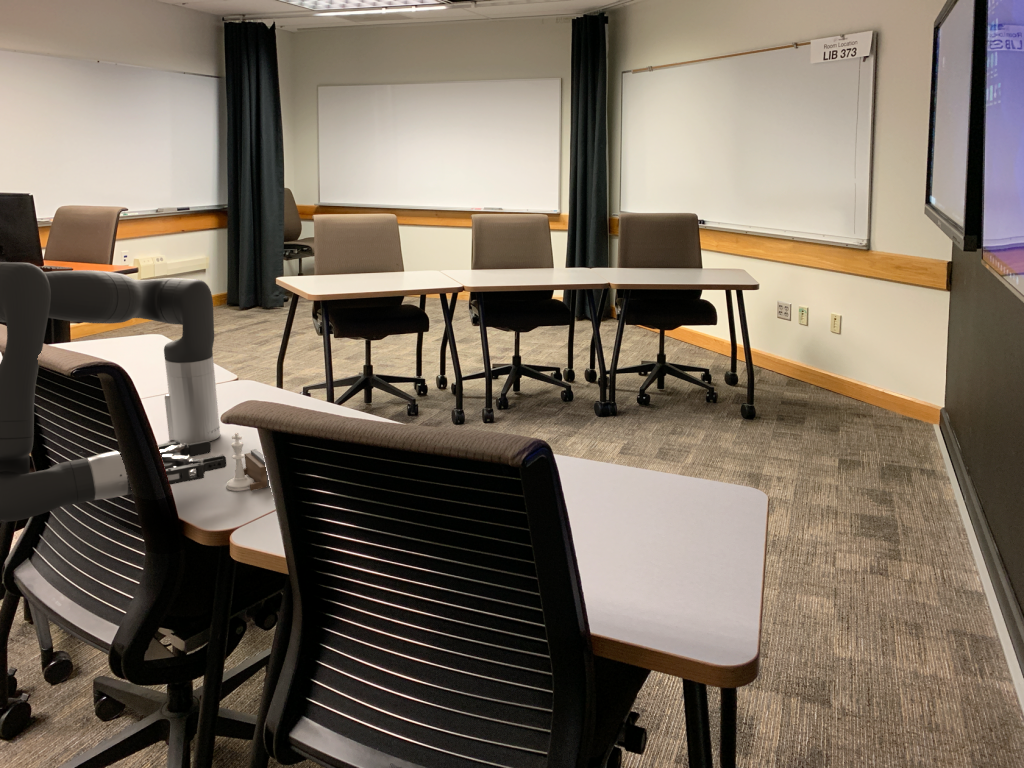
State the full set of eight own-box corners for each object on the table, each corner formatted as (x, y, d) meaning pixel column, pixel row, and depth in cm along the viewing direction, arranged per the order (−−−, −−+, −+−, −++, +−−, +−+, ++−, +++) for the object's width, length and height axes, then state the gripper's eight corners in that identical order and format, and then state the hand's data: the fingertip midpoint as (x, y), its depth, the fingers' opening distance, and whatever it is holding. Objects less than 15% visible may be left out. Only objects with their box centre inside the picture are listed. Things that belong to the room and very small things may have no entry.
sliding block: (251, 490, 156) (249, 469, 155) (235, 476, 162) (233, 456, 161) (267, 487, 157) (265, 466, 156) (251, 472, 164) (249, 452, 163)
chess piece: (246, 492, 156) (242, 439, 153) (221, 489, 157) (216, 436, 154) (259, 481, 161) (256, 430, 158) (235, 479, 162) (231, 427, 159)
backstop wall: (266, 487, 158) (264, 461, 157) (252, 475, 163) (250, 450, 162) (271, 486, 159) (269, 460, 157) (257, 474, 164) (255, 449, 163)
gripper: (127, 464, 139) (229, 444, 148) (107, 439, 150) (203, 422, 159) (133, 508, 141) (233, 486, 150) (112, 480, 152) (206, 461, 161)
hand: (217, 453), depth 155 cm, fingers open, 8 cm apart
